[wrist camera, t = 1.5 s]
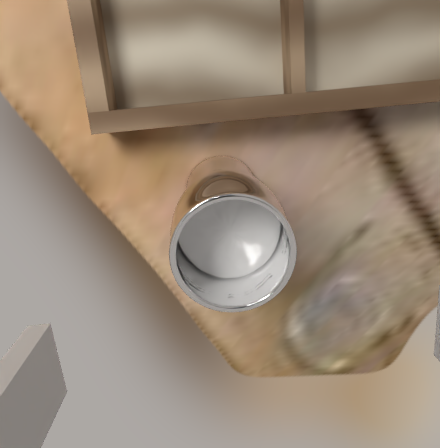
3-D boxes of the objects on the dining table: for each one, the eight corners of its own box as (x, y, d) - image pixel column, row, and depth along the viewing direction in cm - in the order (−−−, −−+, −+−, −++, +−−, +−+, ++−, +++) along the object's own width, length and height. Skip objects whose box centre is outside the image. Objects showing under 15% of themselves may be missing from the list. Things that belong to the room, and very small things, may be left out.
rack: (70, -71, 29) (49, -98, 25) (487, -109, 29) (533, -142, 25) (105, 129, 33) (91, 134, 29) (468, 95, 33) (505, 95, 29)
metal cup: (243, 136, 34) (272, 166, 19) (273, 210, 36) (319, 286, 21) (167, 170, 34) (140, 222, 20) (200, 240, 36) (198, 334, 22)
